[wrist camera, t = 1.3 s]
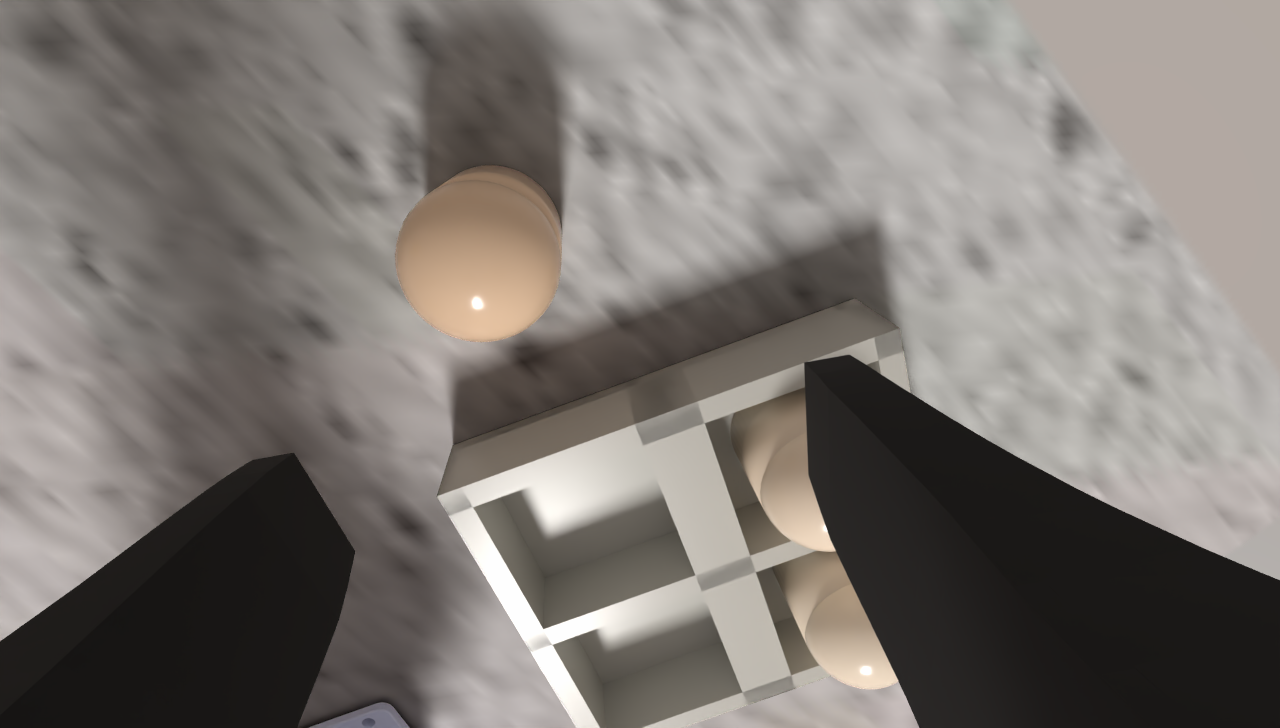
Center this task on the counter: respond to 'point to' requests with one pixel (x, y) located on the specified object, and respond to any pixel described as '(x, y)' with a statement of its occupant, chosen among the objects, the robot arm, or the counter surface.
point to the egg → (481, 254)
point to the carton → (653, 531)
